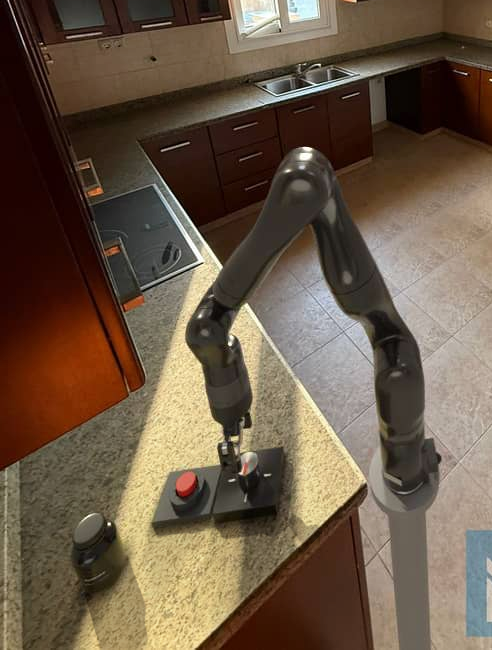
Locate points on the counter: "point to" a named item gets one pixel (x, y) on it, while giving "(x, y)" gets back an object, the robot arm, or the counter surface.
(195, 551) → the counter surface
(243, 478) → the stove knob
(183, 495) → the power button
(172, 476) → the button housing
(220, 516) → the stove panel
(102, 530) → the supplement bottle
